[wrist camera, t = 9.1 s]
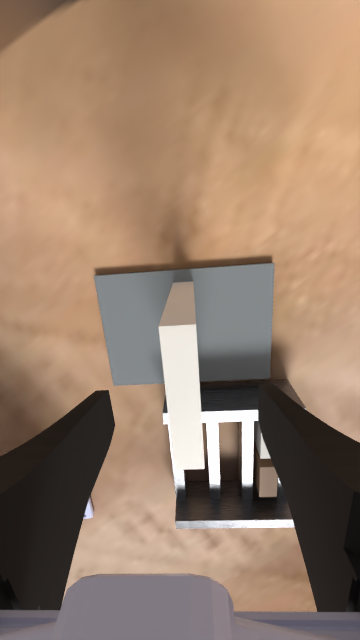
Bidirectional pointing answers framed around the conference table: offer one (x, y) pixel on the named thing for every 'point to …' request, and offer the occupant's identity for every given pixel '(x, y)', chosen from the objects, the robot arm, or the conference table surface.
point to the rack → (238, 496)
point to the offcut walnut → (264, 475)
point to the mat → (211, 321)
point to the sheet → (182, 376)
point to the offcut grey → (260, 442)
